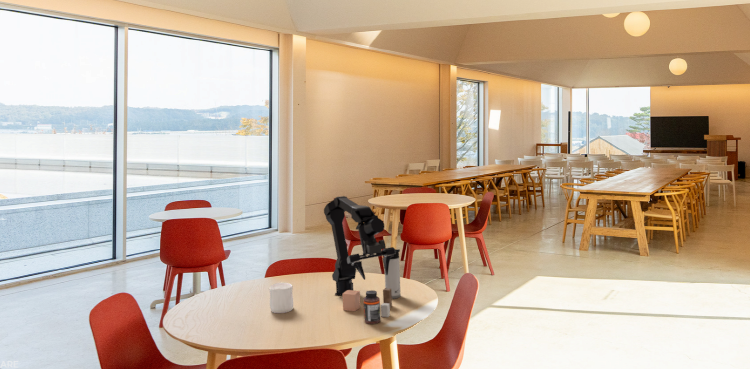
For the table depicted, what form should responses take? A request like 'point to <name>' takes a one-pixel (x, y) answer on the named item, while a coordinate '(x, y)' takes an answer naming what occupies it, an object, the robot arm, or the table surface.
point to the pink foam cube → (351, 300)
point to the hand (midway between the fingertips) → (375, 277)
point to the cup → (281, 297)
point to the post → (387, 296)
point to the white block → (385, 310)
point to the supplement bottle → (371, 307)
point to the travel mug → (393, 275)
